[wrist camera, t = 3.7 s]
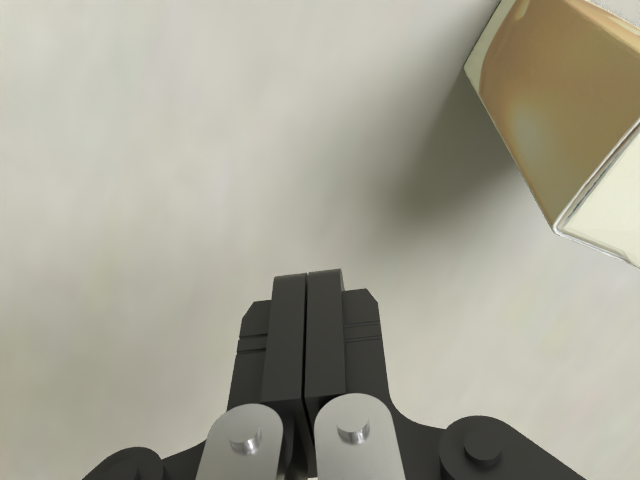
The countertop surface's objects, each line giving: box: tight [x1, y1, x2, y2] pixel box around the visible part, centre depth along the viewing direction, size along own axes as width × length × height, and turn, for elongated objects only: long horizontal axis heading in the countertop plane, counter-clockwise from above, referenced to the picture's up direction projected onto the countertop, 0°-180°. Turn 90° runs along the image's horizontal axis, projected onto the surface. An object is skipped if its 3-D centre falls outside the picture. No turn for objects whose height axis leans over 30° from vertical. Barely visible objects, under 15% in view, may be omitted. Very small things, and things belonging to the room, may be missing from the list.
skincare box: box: [464, 0, 640, 268], centre depth 18 cm, size 6×4×12 cm
